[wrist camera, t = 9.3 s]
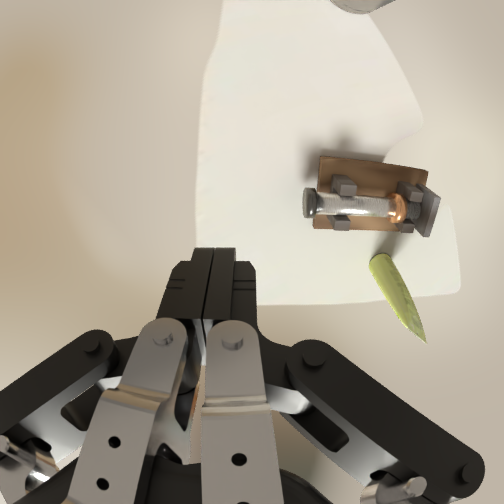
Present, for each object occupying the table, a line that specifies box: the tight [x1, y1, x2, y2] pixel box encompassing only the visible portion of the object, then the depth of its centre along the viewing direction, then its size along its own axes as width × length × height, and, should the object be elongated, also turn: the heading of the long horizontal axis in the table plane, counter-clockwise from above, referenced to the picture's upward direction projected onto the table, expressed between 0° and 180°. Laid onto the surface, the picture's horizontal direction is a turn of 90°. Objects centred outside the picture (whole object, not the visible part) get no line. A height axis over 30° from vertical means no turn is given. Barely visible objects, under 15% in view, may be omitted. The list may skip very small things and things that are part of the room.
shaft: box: [303, 188, 421, 223], centre depth 39 cm, size 5×19×5 cm, turn 89°
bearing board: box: [313, 156, 441, 237], centre depth 39 cm, size 12×20×7 cm, turn 89°
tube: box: [369, 254, 427, 344], centre depth 42 cm, size 6×5×20 cm
